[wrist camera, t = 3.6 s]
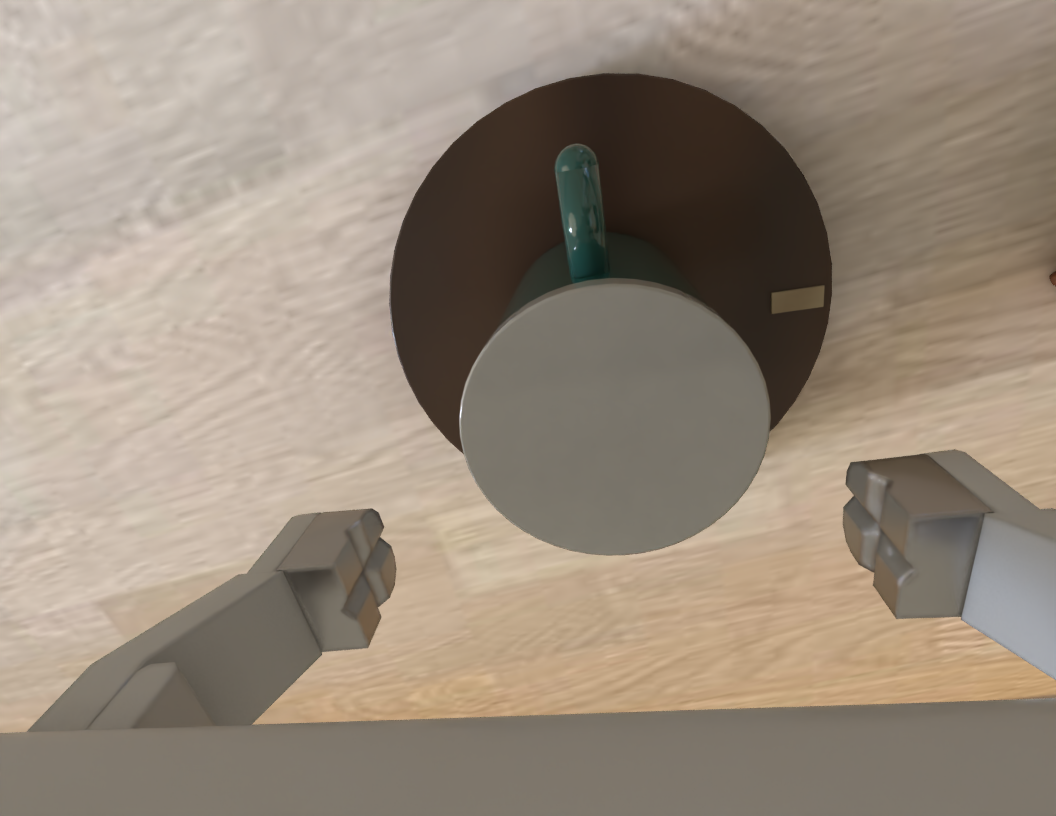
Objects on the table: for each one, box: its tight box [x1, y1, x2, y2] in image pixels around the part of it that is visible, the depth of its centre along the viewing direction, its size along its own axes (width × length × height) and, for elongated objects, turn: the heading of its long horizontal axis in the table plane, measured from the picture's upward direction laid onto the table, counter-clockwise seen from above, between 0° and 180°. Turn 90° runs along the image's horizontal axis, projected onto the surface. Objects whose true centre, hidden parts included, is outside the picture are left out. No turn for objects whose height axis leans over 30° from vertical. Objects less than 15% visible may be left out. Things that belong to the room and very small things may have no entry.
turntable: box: [389, 73, 832, 454], centre depth 19 cm, size 15×15×2 cm
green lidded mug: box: [459, 144, 771, 555], centre depth 14 cm, size 7×9×8 cm
